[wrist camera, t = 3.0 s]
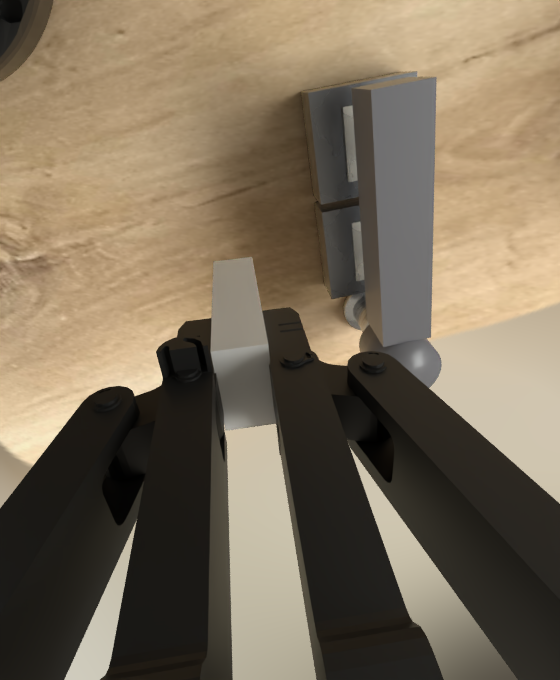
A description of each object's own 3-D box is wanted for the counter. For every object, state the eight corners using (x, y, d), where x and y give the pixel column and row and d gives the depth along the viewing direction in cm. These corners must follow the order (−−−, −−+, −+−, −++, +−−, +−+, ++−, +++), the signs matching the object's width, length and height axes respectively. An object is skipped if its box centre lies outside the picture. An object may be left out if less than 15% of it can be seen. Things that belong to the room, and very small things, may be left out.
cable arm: (338, 90, 21) (358, 92, 18) (418, 74, 21) (452, 73, 18) (361, 370, 30) (377, 404, 27) (417, 359, 30) (440, 390, 27)
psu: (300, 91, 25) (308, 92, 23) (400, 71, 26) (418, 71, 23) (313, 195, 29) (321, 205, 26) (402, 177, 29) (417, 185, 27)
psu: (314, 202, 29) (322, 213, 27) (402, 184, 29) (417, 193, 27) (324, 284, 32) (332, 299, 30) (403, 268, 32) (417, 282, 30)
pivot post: (341, 289, 32) (358, 320, 28) (388, 280, 32) (412, 309, 28) (345, 330, 34) (362, 364, 30) (389, 321, 34) (412, 354, 30)
